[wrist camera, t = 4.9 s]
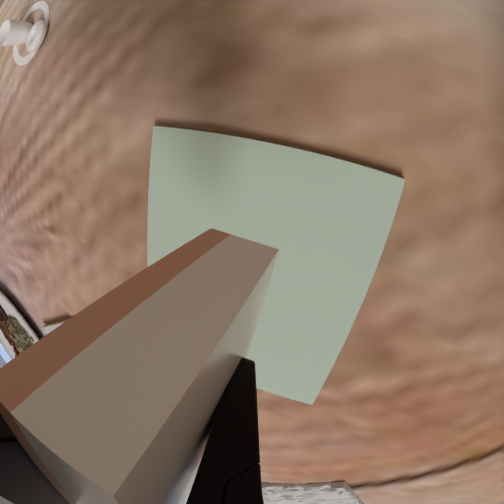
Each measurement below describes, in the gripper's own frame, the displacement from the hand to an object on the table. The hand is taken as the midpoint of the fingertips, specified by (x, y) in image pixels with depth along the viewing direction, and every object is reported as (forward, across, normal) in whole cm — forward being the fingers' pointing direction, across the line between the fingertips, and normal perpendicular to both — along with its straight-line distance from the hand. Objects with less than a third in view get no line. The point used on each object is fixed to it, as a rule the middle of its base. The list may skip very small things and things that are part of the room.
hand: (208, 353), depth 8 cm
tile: (+1, 0, 0) cm, 1 cm away
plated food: (+12, +42, +39) cm, 59 cm away
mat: (+12, +2, +5) cm, 13 cm away
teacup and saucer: (+13, +30, -11) cm, 35 cm away
